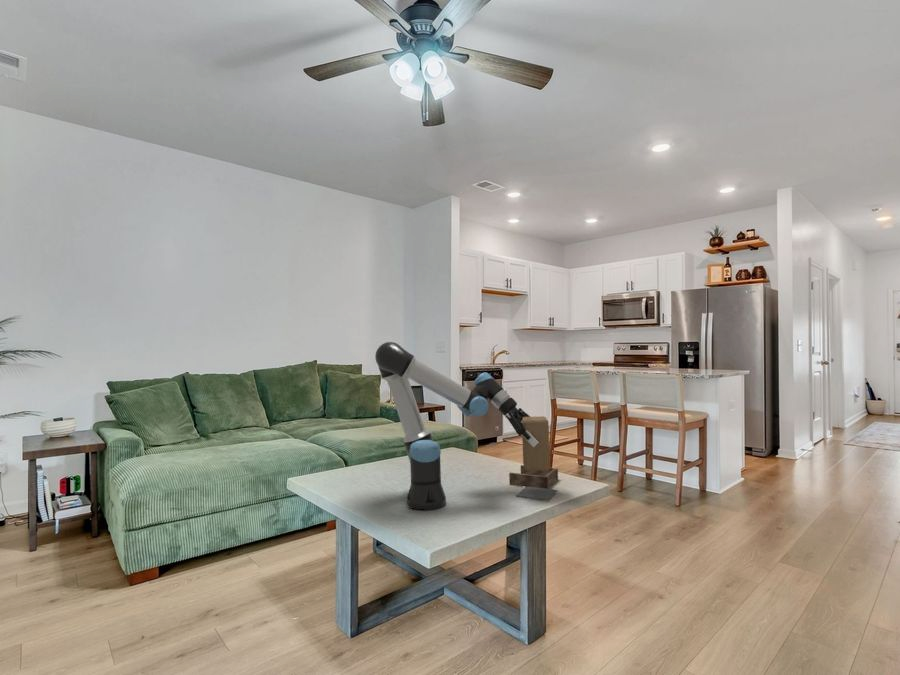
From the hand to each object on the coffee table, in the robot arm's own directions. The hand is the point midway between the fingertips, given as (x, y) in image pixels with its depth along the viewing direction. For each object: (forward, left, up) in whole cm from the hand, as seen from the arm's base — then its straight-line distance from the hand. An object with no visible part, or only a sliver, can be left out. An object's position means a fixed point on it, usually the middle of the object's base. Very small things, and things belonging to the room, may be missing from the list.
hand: (541, 441), depth 190 cm
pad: (-3, 0, -21) cm, 21 cm away
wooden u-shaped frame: (-9, +16, -21) cm, 28 cm away
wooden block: (-2, 0, -11) cm, 11 cm away
